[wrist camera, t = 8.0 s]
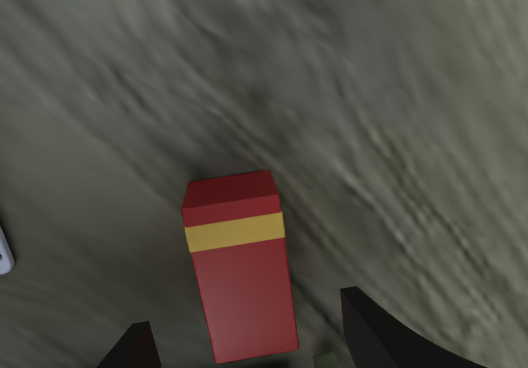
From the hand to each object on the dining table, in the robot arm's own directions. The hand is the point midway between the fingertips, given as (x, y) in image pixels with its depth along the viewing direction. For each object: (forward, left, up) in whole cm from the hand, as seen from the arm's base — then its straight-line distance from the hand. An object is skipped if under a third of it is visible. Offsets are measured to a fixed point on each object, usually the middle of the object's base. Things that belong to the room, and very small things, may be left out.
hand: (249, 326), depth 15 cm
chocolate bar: (0, 0, -6) cm, 6 cm away
